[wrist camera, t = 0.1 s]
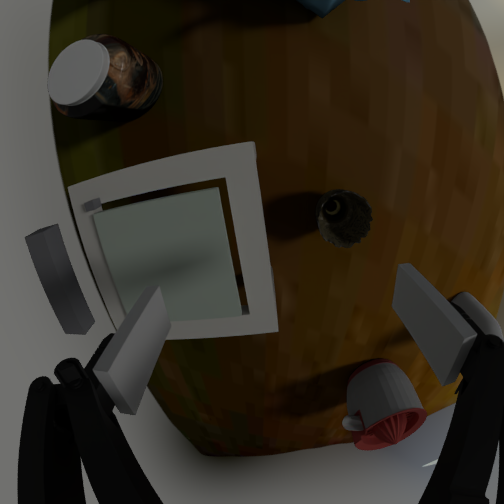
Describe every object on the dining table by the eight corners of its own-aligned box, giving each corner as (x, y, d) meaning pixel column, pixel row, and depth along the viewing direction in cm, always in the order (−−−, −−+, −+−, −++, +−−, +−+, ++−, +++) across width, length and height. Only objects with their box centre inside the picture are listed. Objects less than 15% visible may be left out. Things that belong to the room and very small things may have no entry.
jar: (116, 137, 37) (57, 141, 23) (88, 86, 33) (29, 76, 19) (176, 92, 34) (133, 70, 20) (143, 41, 30) (96, 8, 16)
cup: (362, 198, 40) (383, 211, 32) (337, 237, 42) (352, 257, 35) (323, 172, 38) (338, 180, 31) (298, 214, 41) (307, 230, 33)
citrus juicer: (341, 353, 52) (365, 433, 33) (410, 347, 51) (445, 413, 33) (325, 398, 58) (338, 468, 39) (387, 391, 57) (410, 452, 39)
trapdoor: (77, 319, 33) (65, 333, 29) (41, 228, 27) (24, 237, 24) (241, 311, 31) (240, 330, 27) (218, 186, 25) (212, 193, 22)
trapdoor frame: (119, 171, 39) (59, 189, 24) (254, 142, 37) (251, 141, 23) (152, 290, 47) (117, 347, 32) (273, 277, 45) (279, 339, 31)
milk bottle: (443, 305, 47) (492, 365, 29) (467, 284, 45) (520, 336, 27) (449, 325, 49) (491, 382, 31) (472, 305, 47) (518, 357, 29)
